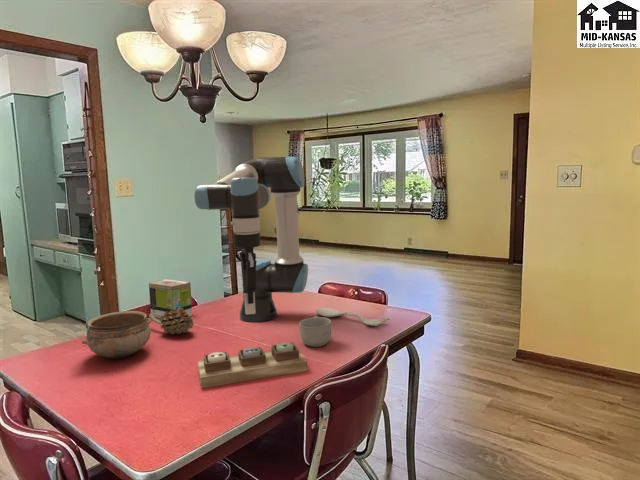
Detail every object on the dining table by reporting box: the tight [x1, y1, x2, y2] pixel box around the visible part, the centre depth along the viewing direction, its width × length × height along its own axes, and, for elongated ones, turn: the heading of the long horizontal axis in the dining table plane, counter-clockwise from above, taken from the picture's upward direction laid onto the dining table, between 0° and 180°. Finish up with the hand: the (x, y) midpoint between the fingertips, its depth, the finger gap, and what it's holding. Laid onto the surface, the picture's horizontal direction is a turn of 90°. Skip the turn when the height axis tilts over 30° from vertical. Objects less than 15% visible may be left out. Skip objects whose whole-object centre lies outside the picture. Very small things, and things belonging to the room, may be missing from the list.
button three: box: [242, 346, 260, 358], centre depth 128 cm, size 5×5×3 cm
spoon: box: [315, 307, 391, 327], centre depth 174 cm, size 9×32×4 cm, turn 51°
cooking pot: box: [81, 310, 152, 360], centre depth 142 cm, size 25×19×12 cm
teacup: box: [298, 315, 332, 348], centre depth 150 cm, size 14×11×8 cm
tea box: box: [148, 278, 193, 319], centre depth 184 cm, size 15×10×15 cm, turn 58°
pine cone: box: [148, 308, 195, 335], centre depth 163 cm, size 22×10×10 cm, turn 67°
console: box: [197, 342, 308, 389], centre depth 128 cm, size 12×30×6 cm, turn 109°
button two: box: [207, 351, 226, 363], centre depth 125 cm, size 5×5×3 cm
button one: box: [276, 342, 293, 353], centre depth 131 cm, size 5×5×3 cm
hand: (250, 313), depth 127 cm, fingers closed
